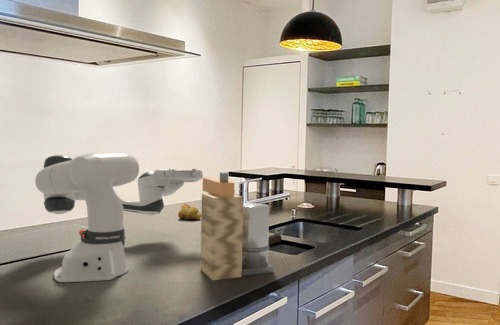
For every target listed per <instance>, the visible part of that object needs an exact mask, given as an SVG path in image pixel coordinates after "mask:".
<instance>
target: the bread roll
mask: <svg viewBox="0 0 500 325" xmlns="http://www.w3.org/2000/svg"><path fill="white" fill-rule="evenodd" d="M177 216H178V218H179V219H180V218H185V219H184V220H186V219H197V220H200V219H202V213H200V212H199V209H198V208H197V207H195V206H190V205H189V204H187V203H184V204H182V205H181V208H180V210H179V211H178V214H177Z"/></svg>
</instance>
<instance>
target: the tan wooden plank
mask: <svg viewBox="0 0 500 325" xmlns="http://www.w3.org/2000/svg"><path fill="white" fill-rule="evenodd" d="M234 190H235V182H233V181H229V172H227V171H226V172H223V171H221V172H219V178H218V177H203V178H202V192H205V193H211V194H213V195H216V196H219V197H234Z"/></svg>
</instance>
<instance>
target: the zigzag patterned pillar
mask: <svg viewBox="0 0 500 325" xmlns="http://www.w3.org/2000/svg"><path fill="white" fill-rule="evenodd" d="M243 204H244V196H242V195H238V194H234V197H219V196H216V195H213V194H211V193H208V192H205V193H204V192H203V193H201V218H200V219H201V221H200V222H201V227H200V228H201V233H200V238H201V239H200V271H201V272H202V273H204V275H206V276H207V277H208V278H209V279H210V280H211V281H218V280H219V281H220V280H227V279H235V278H242V276H243V275H242V231H243Z"/></svg>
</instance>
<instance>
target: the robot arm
mask: <svg viewBox="0 0 500 325" xmlns="http://www.w3.org/2000/svg"><path fill="white" fill-rule="evenodd" d="M43 163H44V164H43V169H41V170H40V171H38V173H37V174H36V176H35V180H34V181H35V182H34V184H35V187H36V188H37V190H38V191H39V192H41V194H43V201H44V202H43V206H44V207H45V210H46V211H47V212H48V213H51V214H54V215H64V214H67V213H68V212H72V210H74V208H75V204H76V201H85V205H86V211H87V229H83V228H82V229H79V230H78V235H79V236H80V242H79V243H78V244H76V245H75V246H74V247H73V248H71V249H70V250H67V252H66V253H65V254H64V256H63V259H62V261H61V262H62V263H61V266H60V267H59V268H57V269H55V271H54V273H53V278H54V280H55V281H57V282H58V283H75V282H77V283H78V282H95V281H98V282H100V281H110V280H113V279H115V278H116V277H119V276H123V275H124V274H126V273H127V272H128V271H129V267H128V265H127V261H126V255H125V254H126V253H125V245H126V244H125V243H126V232H125V228H124V212H127V213H128V212H129V213H138V214H141V215H142V214H143V215H147V216H154V215H156V216H157V215H159V214H160V213H161V212H162V210H163V209H164V207H165V204H164V199H163V197H168V196H172V195H173V194H175V193H176V192H177V191H178V190H180V189H181V188H182V187H183V186H184V184H185V183H196V182H199V181H201V180H203V178H204V177H203V176H204V175H203V171H202V170H201V169H197V168H192V169H177V168H169V169H156V170H154V171H153V170H151V171H148V172H144V173H143V174H141V175H140V176H139V173H140V164H139V162H138V160H137V158H135V157H134V156H133V155H130V154H127V153H123V152H107V153H106V152H105V153H104V152H100V153H98V152H97V153H94V152H92V153H85V154H81V155H79V156H76V157H74V158H71V156H68V155H63V154H55V155H51V156H48V157H47V158H45V160H44V162H43ZM138 176H139V177H138ZM136 179H137V190H138V198H139V201H133V200H126V199H122V198H121V197H120V196H119V195H118V194H117V192H116V190H115V189H114V187H119V186H125V185H127V184H129V183H131V182H134V181H135V180H136Z"/></svg>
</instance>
